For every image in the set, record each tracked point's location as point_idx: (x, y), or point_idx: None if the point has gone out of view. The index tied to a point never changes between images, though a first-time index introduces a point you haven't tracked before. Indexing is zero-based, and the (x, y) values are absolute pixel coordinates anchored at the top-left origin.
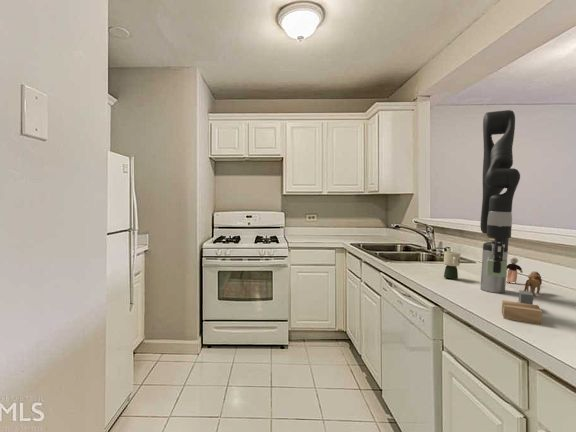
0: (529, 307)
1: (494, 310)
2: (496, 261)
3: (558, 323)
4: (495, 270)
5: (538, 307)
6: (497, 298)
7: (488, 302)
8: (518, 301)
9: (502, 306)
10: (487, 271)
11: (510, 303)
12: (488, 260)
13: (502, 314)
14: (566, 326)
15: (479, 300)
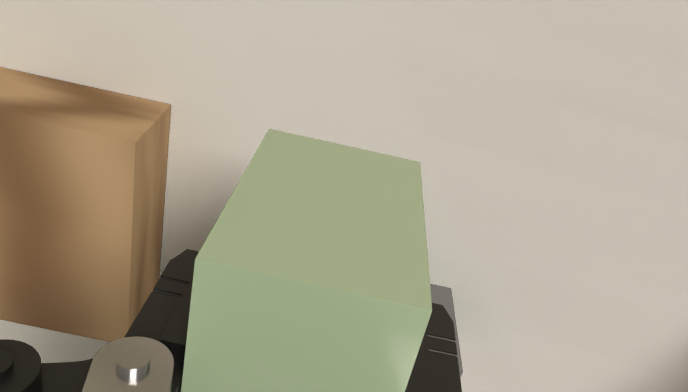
0: (10, 269)
1: (182, 58)
2: (50, 375)
3: (89, 348)
4: (174, 263)
5: (56, 326)
6: (621, 203)
7: (444, 83)
8: (452, 305)
9: (104, 114)
10: (254, 158)
11: (50, 174)
12: (215, 283)
13: (84, 86)
14: (52, 362)
15: (495, 15)
